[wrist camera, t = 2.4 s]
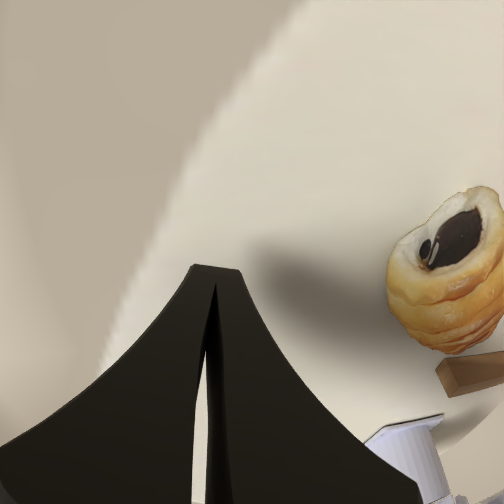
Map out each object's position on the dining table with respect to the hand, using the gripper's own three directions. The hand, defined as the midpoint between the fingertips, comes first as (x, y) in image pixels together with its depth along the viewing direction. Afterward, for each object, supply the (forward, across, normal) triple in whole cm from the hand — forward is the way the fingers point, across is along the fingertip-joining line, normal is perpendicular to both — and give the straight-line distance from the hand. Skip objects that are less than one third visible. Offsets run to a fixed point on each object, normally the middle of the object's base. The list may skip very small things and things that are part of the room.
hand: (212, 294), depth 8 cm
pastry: (+3, -11, -1) cm, 11 cm away
